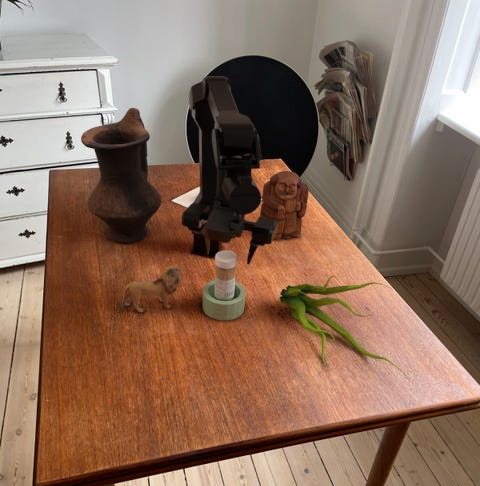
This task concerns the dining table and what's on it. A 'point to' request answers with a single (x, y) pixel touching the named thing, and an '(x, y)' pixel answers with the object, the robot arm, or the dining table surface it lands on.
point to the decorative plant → (310, 306)
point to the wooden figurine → (285, 203)
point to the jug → (122, 178)
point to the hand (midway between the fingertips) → (227, 258)
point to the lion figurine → (154, 288)
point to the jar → (223, 303)
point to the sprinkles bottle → (225, 275)
